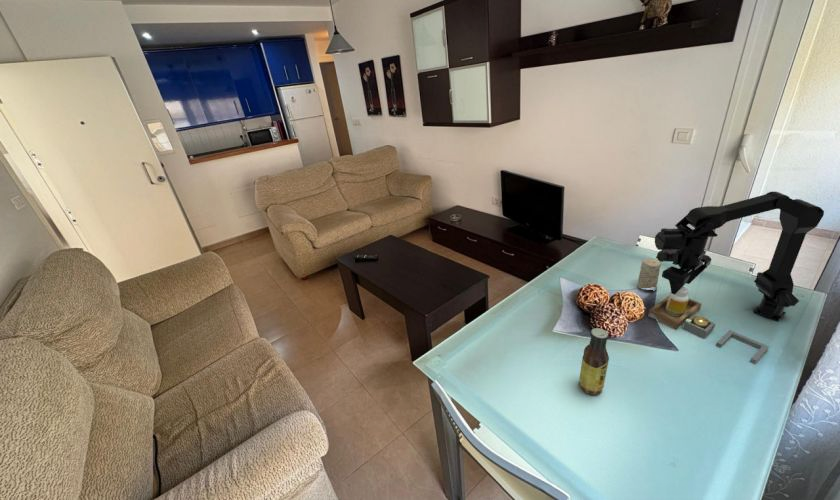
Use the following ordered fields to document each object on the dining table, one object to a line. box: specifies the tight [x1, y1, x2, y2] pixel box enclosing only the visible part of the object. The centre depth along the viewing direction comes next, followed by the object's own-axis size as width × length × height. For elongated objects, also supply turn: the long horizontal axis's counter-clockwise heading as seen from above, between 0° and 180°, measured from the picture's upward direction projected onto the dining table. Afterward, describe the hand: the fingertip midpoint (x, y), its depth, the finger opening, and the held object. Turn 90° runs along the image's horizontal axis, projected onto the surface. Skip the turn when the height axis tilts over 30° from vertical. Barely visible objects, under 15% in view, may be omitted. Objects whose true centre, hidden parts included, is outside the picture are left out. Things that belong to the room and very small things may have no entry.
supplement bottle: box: [665, 286, 690, 316], centre depth 116 cm, size 5×5×10 cm
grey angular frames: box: [682, 314, 770, 365], centre depth 105 cm, size 9×19×4 cm, turn 32°
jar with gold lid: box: [692, 315, 709, 329], centre depth 109 cm, size 4×4×3 cm
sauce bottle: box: [578, 327, 610, 396], centre depth 92 cm, size 6×6×20 cm
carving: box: [637, 258, 662, 289], centre depth 129 cm, size 6×8×12 cm
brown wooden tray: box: [648, 295, 703, 331], centre depth 118 cm, size 16×9×3 cm, turn 122°
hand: (680, 288), depth 113 cm, fingers open, 9 cm apart
